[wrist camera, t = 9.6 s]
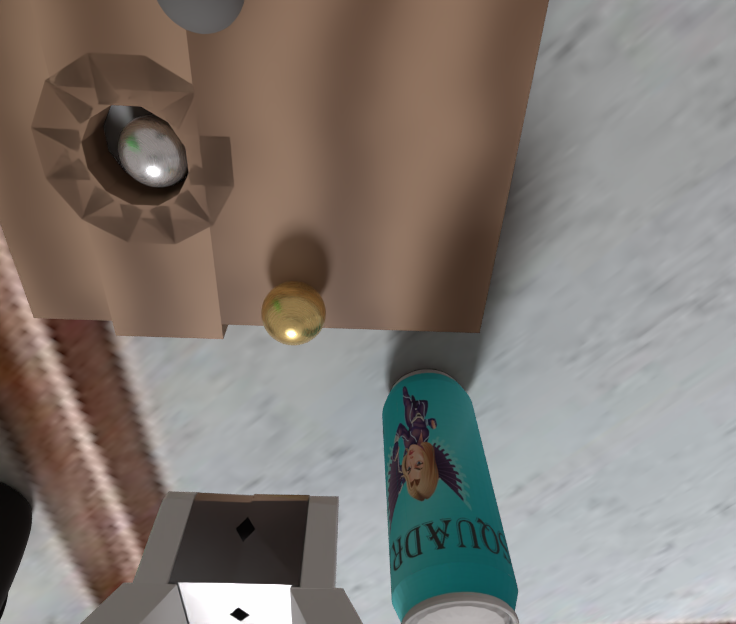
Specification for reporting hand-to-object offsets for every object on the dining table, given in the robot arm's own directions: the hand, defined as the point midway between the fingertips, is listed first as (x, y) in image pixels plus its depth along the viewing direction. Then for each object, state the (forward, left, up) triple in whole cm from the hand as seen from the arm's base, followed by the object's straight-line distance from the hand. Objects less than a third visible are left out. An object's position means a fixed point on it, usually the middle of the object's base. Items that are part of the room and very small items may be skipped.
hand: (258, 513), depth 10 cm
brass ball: (+1, +7, -16) cm, 18 cm away
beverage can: (-7, +16, -21) cm, 27 cm away
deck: (+3, 0, -21) cm, 21 cm away
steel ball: (+8, 0, -19) cm, 20 cm away
